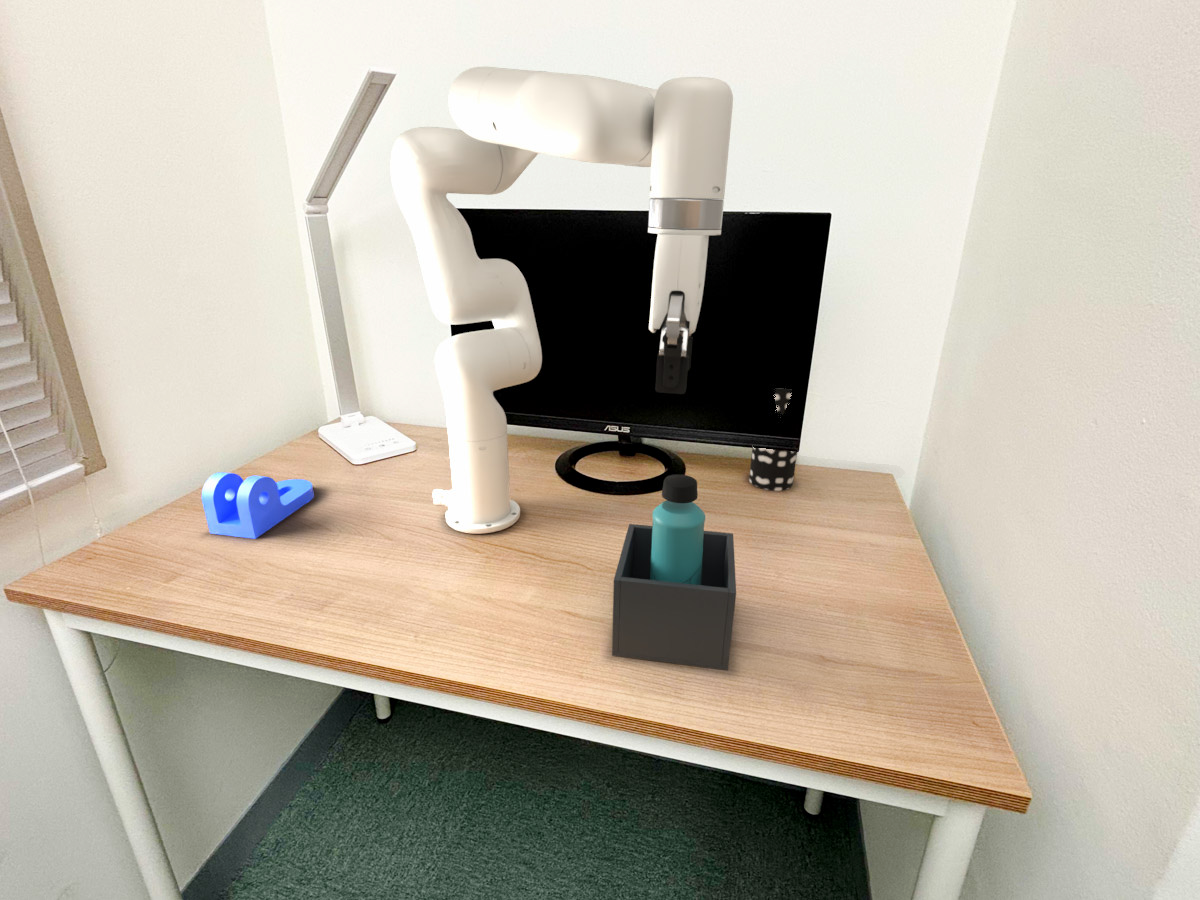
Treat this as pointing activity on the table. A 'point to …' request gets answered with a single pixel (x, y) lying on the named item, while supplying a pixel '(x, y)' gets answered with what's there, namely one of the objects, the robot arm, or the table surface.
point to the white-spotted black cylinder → (774, 457)
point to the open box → (674, 605)
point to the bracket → (251, 503)
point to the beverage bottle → (678, 533)
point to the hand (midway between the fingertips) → (673, 380)
